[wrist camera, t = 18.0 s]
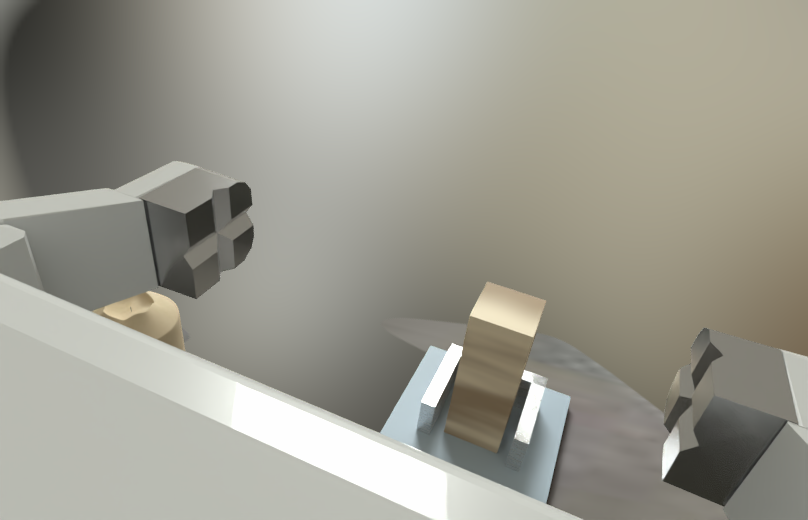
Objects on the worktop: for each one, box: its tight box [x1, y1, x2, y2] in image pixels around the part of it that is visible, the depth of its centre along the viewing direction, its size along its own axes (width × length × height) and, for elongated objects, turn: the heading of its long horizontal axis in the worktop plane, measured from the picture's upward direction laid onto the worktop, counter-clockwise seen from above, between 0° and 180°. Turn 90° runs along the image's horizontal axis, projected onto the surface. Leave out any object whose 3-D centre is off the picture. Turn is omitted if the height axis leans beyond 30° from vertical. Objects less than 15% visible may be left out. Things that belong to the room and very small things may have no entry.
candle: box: [93, 291, 185, 351], centre depth 38 cm, size 6×6×10 cm
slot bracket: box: [416, 344, 548, 472], centre depth 41 cm, size 8×7×3 cm
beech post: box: [444, 282, 546, 453], centre depth 39 cm, size 4×4×11 cm
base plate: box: [380, 346, 571, 504], centre depth 42 cm, size 12×12×1 cm
